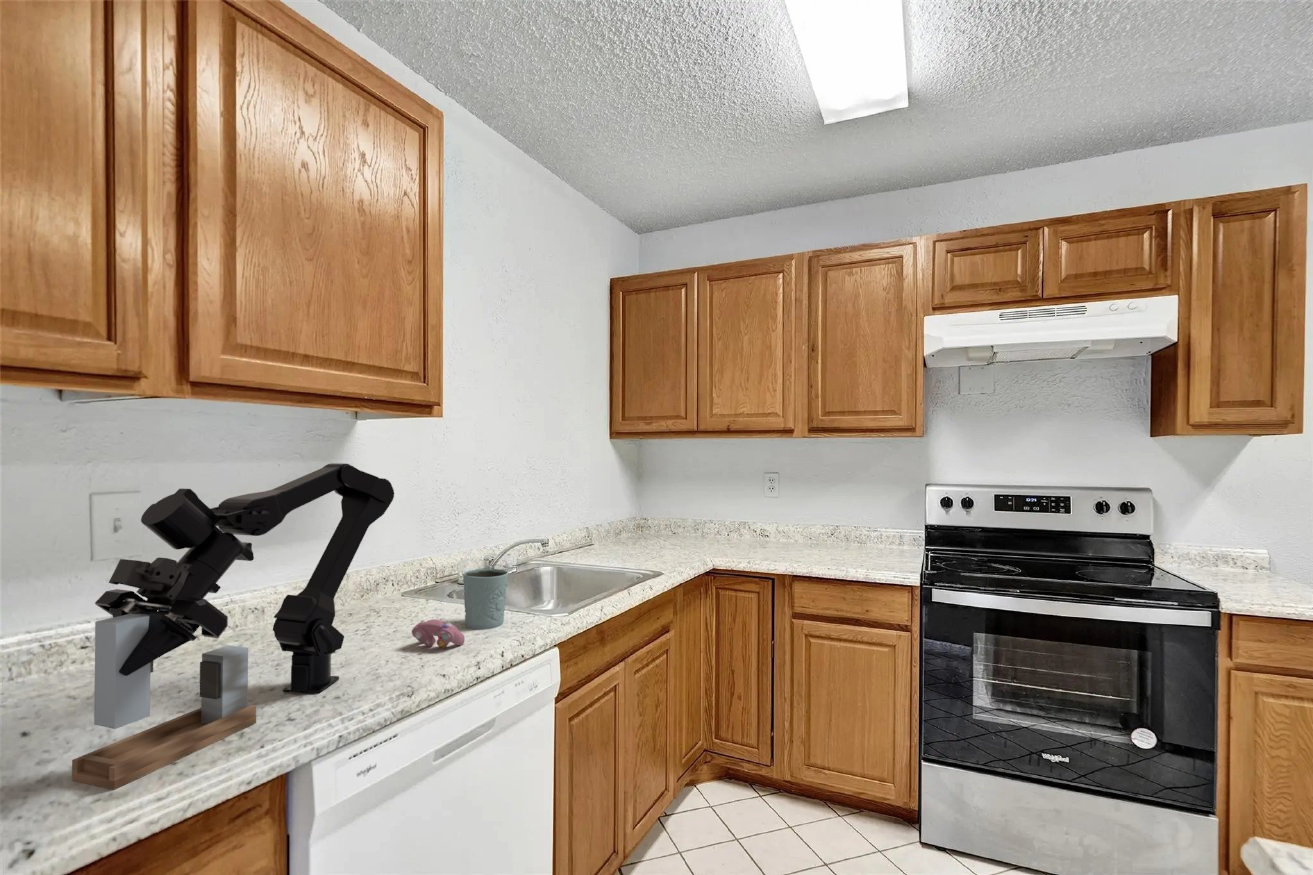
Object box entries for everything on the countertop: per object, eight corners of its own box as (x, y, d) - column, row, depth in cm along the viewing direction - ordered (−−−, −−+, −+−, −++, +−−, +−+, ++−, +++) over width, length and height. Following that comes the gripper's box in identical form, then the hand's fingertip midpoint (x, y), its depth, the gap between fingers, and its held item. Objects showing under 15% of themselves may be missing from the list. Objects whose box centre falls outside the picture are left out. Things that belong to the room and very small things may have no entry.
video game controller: (414, 653, 130) (405, 627, 127) (426, 637, 134) (417, 611, 131) (457, 656, 128) (449, 630, 125) (468, 640, 132) (460, 614, 129)
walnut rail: (218, 716, 95) (219, 644, 96) (256, 722, 93) (257, 648, 94) (71, 780, 77) (73, 690, 77) (114, 789, 75) (116, 697, 75)
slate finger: (134, 709, 84) (135, 612, 84) (154, 714, 82) (155, 615, 83) (94, 724, 79) (95, 621, 80) (114, 729, 78) (116, 624, 78)
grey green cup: (460, 620, 149) (461, 570, 149) (504, 616, 153) (504, 567, 153) (465, 632, 139) (465, 578, 139) (511, 627, 143) (511, 574, 143)
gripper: (112, 531, 88) (8, 632, 77) (206, 537, 82) (107, 648, 71) (171, 576, 95) (84, 674, 85) (261, 585, 89) (179, 692, 78)
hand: (111, 672), depth 79 cm, fingers closed on slate finger, 4 cm apart
